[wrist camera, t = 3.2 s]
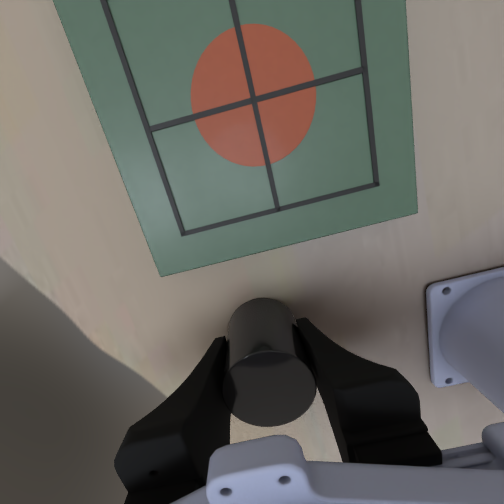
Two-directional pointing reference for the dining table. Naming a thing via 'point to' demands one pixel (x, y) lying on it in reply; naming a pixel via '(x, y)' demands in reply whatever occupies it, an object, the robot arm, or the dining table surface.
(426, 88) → the dining table surface
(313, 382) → the dark grey canister
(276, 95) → the board
